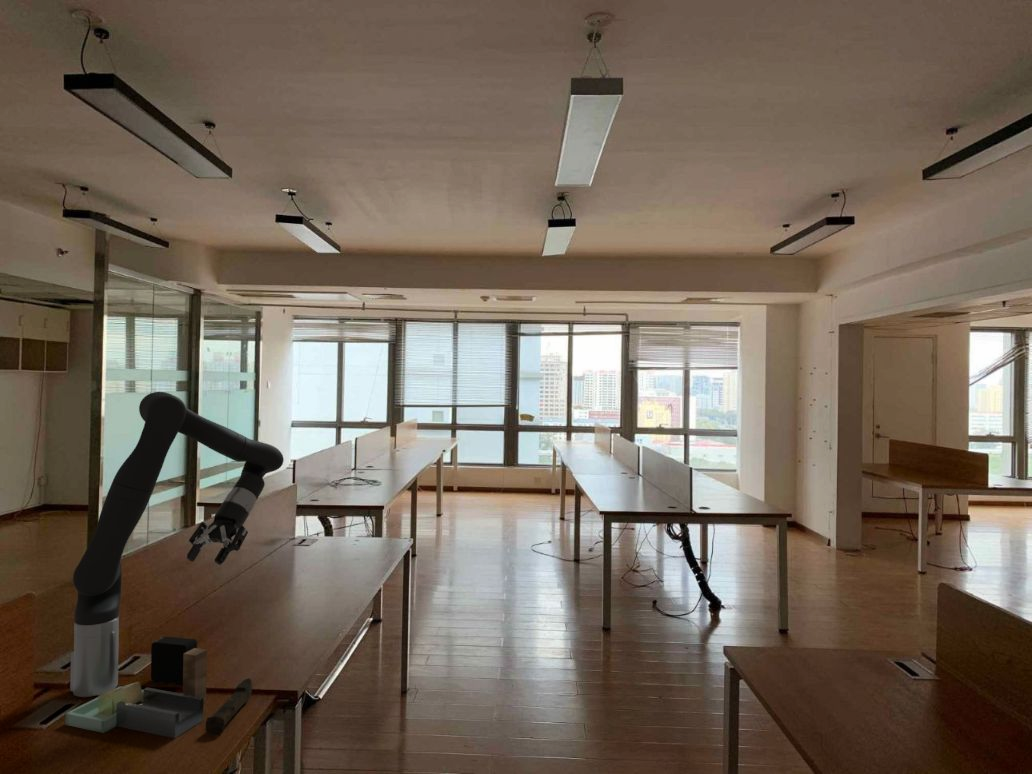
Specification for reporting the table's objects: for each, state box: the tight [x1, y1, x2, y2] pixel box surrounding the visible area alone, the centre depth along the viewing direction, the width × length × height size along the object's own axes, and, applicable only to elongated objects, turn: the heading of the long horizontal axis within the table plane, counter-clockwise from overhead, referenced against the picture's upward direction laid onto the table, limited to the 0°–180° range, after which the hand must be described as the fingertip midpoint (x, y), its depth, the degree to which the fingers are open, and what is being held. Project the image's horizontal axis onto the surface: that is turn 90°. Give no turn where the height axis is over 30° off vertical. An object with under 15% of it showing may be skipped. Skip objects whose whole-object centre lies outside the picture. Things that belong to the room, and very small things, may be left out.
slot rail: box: [116, 687, 205, 739], centre depth 143 cm, size 16×8×5 cm, turn 73°
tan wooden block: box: [180, 647, 208, 702], centre depth 153 cm, size 4×5×12 cm
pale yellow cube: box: [111, 681, 144, 710], centre depth 146 cm, size 4×4×4 cm
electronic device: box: [150, 636, 198, 685], centre depth 165 cm, size 4×10×10 cm, turn 80°
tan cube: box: [97, 688, 118, 716], centre depth 147 cm, size 4×4×4 cm
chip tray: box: [64, 685, 143, 734], centre depth 147 cm, size 11×14×2 cm
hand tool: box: [205, 678, 253, 735], centre depth 149 cm, size 19×4×5 cm, turn 177°
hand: (203, 561), depth 163 cm, fingers open, 8 cm apart
